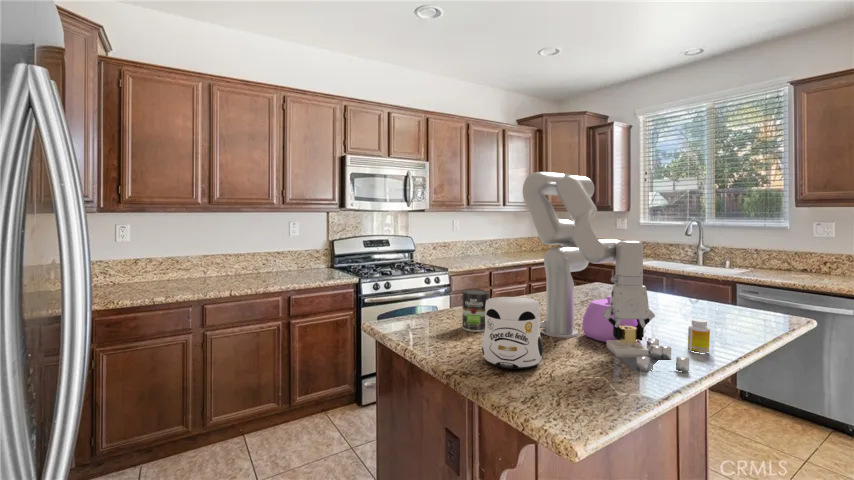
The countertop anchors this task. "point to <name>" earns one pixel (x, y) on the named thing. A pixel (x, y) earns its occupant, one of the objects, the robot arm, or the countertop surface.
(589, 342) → the countertop surface
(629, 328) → the nut
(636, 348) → the dish
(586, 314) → the teapot
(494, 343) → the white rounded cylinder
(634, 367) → the mat
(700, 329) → the supplement bottle
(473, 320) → the coffee can
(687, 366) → the spacers
